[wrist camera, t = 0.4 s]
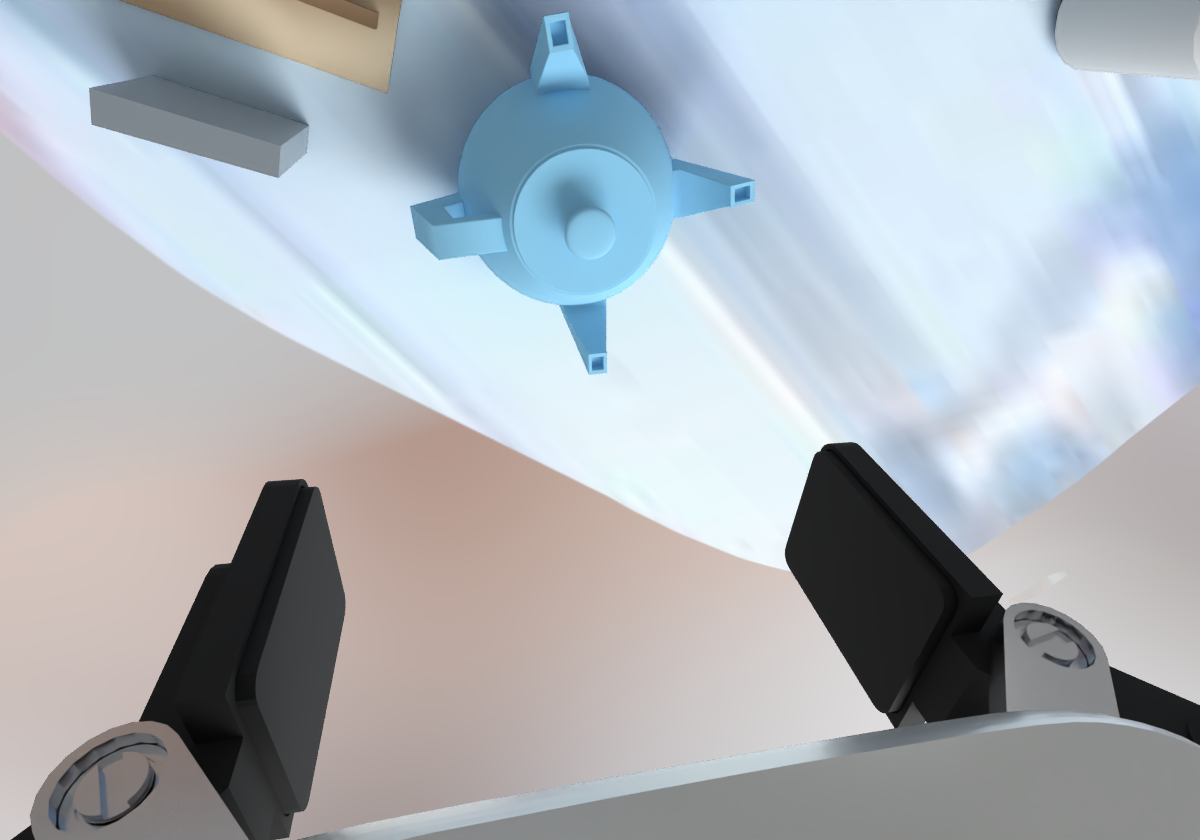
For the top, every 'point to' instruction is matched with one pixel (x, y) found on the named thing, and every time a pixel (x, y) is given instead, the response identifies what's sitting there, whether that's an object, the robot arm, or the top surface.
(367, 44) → the wooden ridged plate
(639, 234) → the teapot
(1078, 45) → the can
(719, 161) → the top surface
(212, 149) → the tile
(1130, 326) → the top surface
